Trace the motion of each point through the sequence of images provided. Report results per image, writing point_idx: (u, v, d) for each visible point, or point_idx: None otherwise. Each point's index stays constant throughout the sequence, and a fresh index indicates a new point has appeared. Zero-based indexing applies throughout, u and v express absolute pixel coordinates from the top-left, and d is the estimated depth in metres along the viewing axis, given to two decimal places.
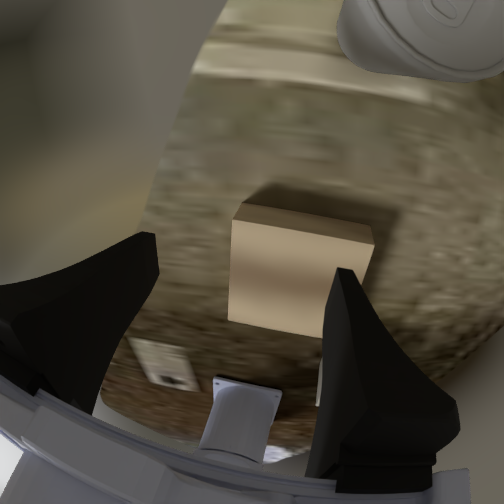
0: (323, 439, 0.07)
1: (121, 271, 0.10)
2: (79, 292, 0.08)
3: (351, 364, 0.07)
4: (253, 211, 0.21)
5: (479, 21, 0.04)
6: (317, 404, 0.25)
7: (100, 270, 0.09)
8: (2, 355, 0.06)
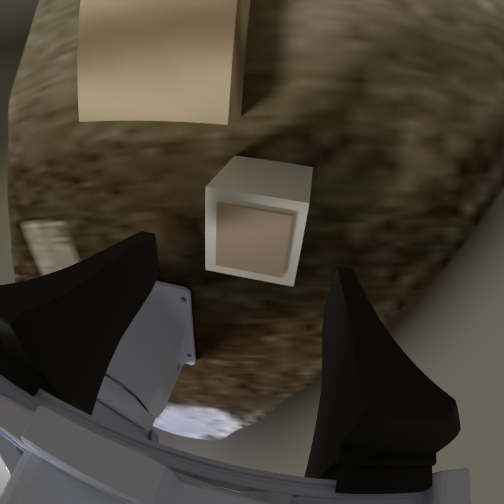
0: (323, 439, 0.07)
1: (121, 271, 0.10)
2: (79, 292, 0.08)
3: (351, 364, 0.07)
4: None
5: None
6: (207, 265, 0.15)
7: (100, 270, 0.09)
8: (2, 355, 0.06)
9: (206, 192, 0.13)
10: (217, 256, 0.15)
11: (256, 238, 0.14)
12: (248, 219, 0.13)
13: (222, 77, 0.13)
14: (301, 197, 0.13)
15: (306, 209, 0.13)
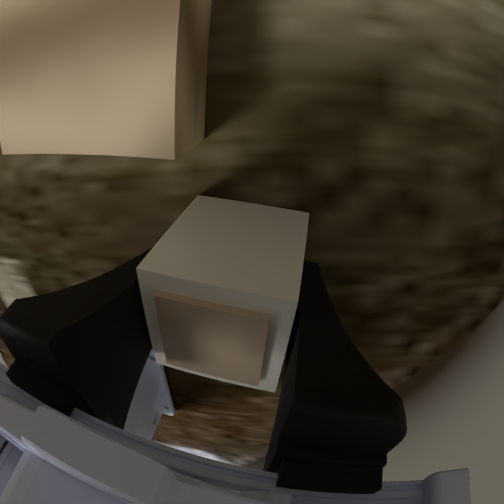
0: (275, 432, 0.07)
1: None
2: (116, 304, 0.08)
3: (295, 355, 0.07)
4: None
5: None
6: (158, 359, 0.11)
7: (136, 279, 0.09)
8: (30, 373, 0.06)
9: (138, 275, 0.08)
10: (167, 355, 0.10)
11: (217, 342, 0.09)
12: (203, 319, 0.08)
13: (162, 85, 0.08)
14: (286, 287, 0.08)
15: (293, 310, 0.08)
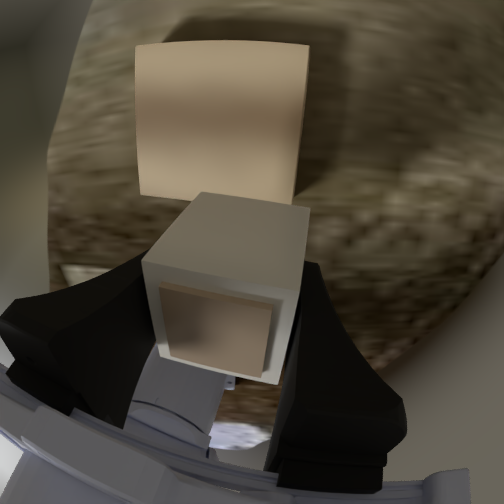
0: (275, 432, 0.07)
1: None
2: (115, 303, 0.08)
3: (296, 355, 0.07)
4: None
5: None
6: (161, 352, 0.11)
7: (135, 279, 0.09)
8: (30, 373, 0.06)
9: (143, 267, 0.09)
10: (171, 347, 0.10)
11: (220, 333, 0.09)
12: (206, 310, 0.09)
13: (287, 174, 0.16)
14: (288, 277, 0.08)
15: (295, 299, 0.08)
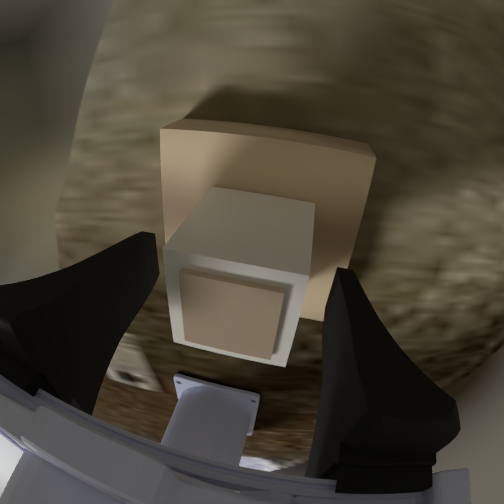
0: (323, 439, 0.07)
1: (121, 271, 0.10)
2: (79, 292, 0.08)
3: (351, 364, 0.07)
4: (194, 123, 0.14)
5: None
6: (175, 337, 0.12)
7: (100, 270, 0.09)
8: (2, 355, 0.06)
9: (164, 254, 0.09)
10: (186, 331, 0.11)
11: (234, 316, 0.10)
12: (223, 294, 0.09)
13: None
14: (298, 264, 0.09)
15: (305, 283, 0.09)
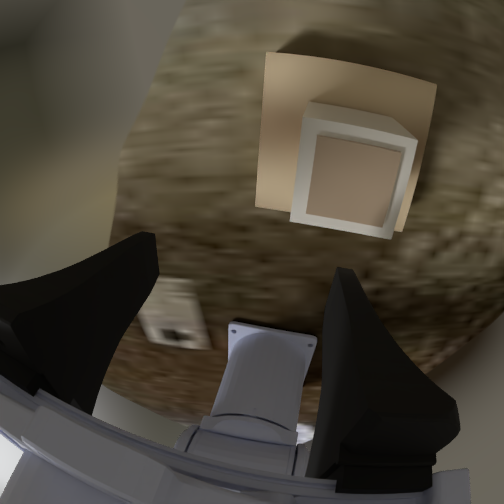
0: (323, 439, 0.07)
1: (121, 271, 0.10)
2: (79, 292, 0.08)
3: (351, 364, 0.07)
4: None
5: None
6: (293, 215, 0.13)
7: (100, 270, 0.09)
8: (2, 355, 0.06)
9: (303, 123, 0.11)
10: (309, 202, 0.12)
11: (359, 178, 0.11)
12: (353, 155, 0.11)
13: (406, 196, 0.16)
14: (406, 135, 0.10)
15: (414, 147, 0.10)
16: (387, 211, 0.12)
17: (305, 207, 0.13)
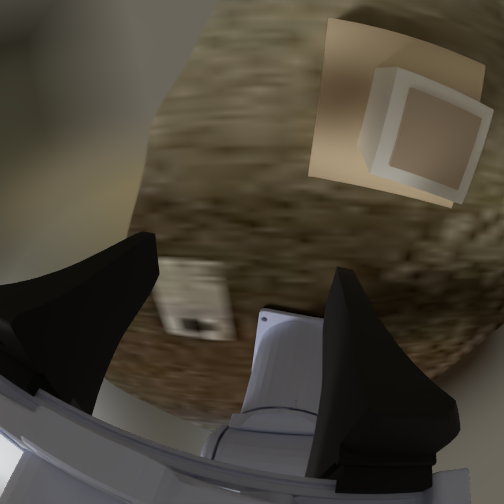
0: (323, 439, 0.07)
1: (121, 271, 0.10)
2: (79, 292, 0.08)
3: (351, 364, 0.07)
4: None
5: None
6: (374, 167, 0.11)
7: (100, 270, 0.09)
8: (2, 355, 0.06)
9: (397, 73, 0.09)
10: (395, 154, 0.10)
11: (444, 136, 0.10)
12: (441, 112, 0.09)
13: None
14: (482, 104, 0.09)
15: (491, 115, 0.09)
16: (463, 174, 0.10)
17: (388, 160, 0.11)
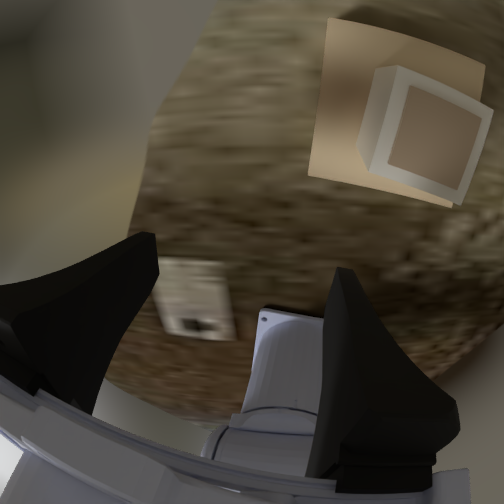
0: (323, 439, 0.07)
1: (121, 271, 0.10)
2: (79, 292, 0.08)
3: (351, 364, 0.07)
4: None
5: None
6: (373, 166, 0.11)
7: (100, 270, 0.09)
8: (2, 355, 0.06)
9: (397, 71, 0.09)
10: (394, 152, 0.10)
11: (444, 135, 0.09)
12: (441, 111, 0.09)
13: None
14: (482, 105, 0.09)
15: (491, 116, 0.09)
16: (462, 174, 0.10)
17: (387, 158, 0.11)
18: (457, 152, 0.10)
